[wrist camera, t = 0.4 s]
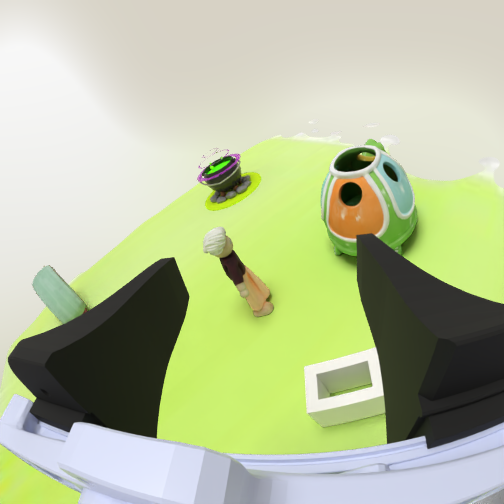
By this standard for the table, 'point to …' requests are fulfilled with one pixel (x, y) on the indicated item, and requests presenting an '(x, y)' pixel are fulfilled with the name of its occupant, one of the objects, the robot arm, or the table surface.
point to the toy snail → (58, 295)
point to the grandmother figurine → (238, 271)
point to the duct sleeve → (343, 378)
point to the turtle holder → (367, 198)
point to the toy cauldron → (227, 182)
